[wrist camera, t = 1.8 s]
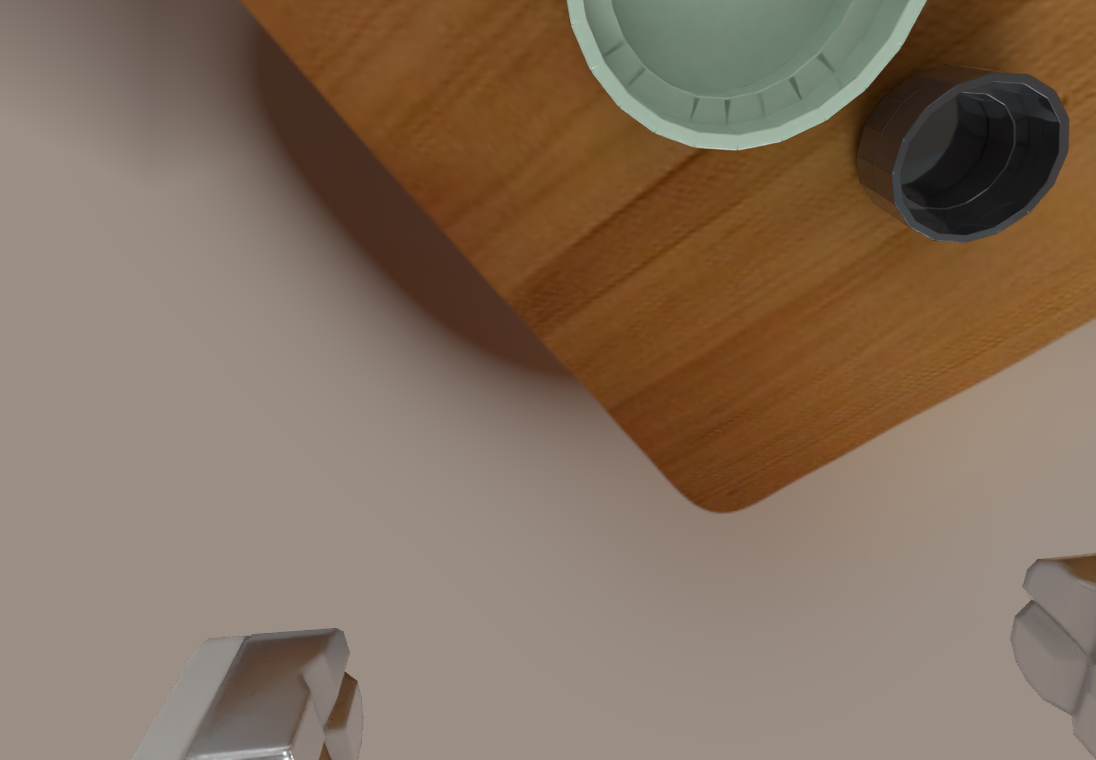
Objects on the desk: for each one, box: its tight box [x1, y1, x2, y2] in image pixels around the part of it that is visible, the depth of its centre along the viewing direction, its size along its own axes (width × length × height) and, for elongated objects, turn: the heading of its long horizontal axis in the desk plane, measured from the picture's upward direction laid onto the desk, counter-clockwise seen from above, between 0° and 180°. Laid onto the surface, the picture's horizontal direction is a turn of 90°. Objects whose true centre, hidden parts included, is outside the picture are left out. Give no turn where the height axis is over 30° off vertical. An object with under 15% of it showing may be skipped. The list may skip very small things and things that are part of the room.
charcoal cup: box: [857, 64, 1069, 243], centre depth 28 cm, size 6×6×5 cm
